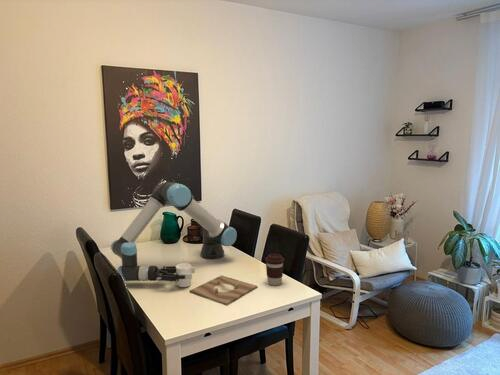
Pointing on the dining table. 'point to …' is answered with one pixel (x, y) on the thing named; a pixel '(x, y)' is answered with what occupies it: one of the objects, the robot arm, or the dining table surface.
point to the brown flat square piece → (223, 289)
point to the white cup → (183, 269)
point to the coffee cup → (274, 269)
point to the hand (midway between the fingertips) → (193, 273)
